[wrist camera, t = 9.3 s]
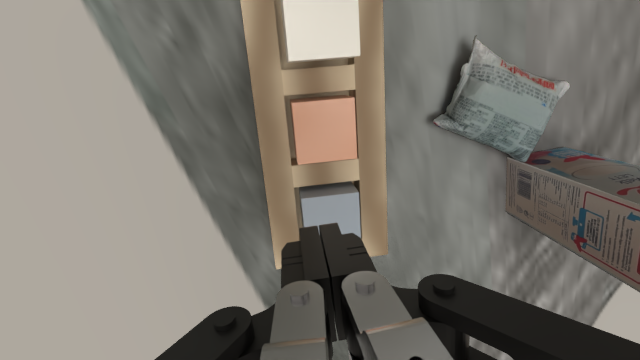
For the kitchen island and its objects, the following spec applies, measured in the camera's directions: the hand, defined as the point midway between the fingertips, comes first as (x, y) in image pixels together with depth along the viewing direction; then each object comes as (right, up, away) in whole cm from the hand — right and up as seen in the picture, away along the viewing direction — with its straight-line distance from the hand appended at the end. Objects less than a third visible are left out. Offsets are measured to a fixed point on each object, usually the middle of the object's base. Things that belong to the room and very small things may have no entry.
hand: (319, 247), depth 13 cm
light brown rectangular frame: (0, +8, +21) cm, 22 cm away
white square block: (0, +15, +13) cm, 20 cm away
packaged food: (+18, +11, +23) cm, 31 cm away
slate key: (+1, 0, +21) cm, 21 cm away
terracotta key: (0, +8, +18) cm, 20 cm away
